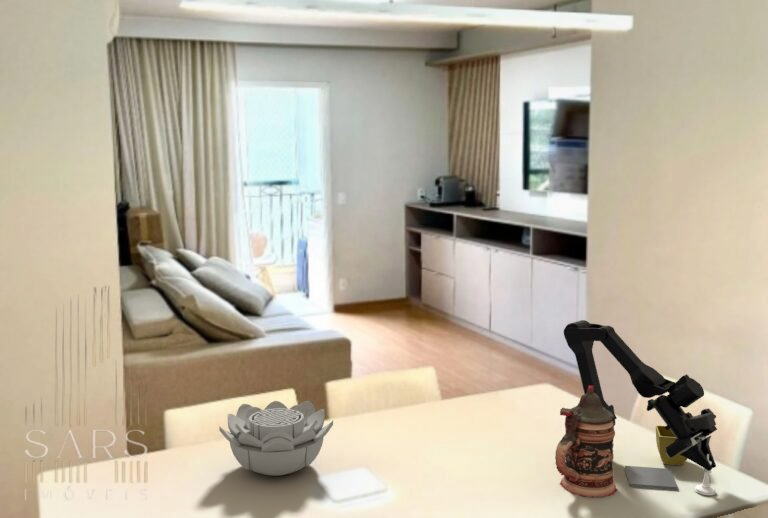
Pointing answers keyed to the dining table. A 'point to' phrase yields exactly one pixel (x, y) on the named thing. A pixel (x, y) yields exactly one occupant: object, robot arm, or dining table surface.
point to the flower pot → (663, 441)
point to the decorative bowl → (276, 437)
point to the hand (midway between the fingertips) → (712, 468)
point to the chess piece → (706, 483)
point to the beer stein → (587, 448)
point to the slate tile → (650, 477)
